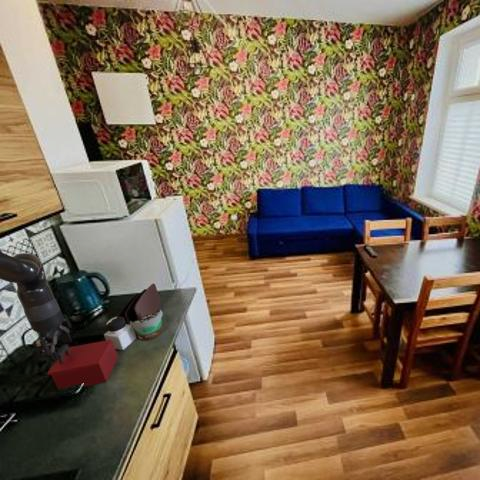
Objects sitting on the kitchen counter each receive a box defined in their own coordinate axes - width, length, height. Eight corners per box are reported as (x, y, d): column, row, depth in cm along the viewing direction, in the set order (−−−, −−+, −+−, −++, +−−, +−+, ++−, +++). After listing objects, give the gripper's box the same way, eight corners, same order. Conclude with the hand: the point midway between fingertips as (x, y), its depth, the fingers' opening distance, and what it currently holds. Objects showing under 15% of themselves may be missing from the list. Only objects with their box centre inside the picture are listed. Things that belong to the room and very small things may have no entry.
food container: (139, 347, 110) (133, 328, 106) (134, 339, 114) (128, 321, 110) (170, 332, 118) (166, 313, 115) (165, 325, 122) (160, 307, 118)
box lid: (47, 375, 88) (41, 364, 86) (66, 349, 98) (61, 339, 96) (99, 364, 92) (94, 354, 90) (112, 341, 102) (108, 331, 100)
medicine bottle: (137, 338, 115) (130, 315, 110) (123, 350, 108) (114, 327, 104) (123, 335, 116) (115, 313, 111) (108, 348, 109) (99, 324, 105)
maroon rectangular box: (59, 392, 91) (50, 374, 88) (76, 365, 101) (69, 349, 98) (106, 381, 95) (99, 364, 92) (118, 357, 105) (112, 341, 102)
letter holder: (161, 304, 137) (155, 280, 131) (143, 331, 119) (135, 305, 113) (140, 305, 135) (133, 282, 130) (119, 333, 117) (109, 307, 112)
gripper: (42, 302, 91) (59, 339, 97) (13, 330, 78) (34, 370, 85) (69, 298, 93) (84, 334, 99) (45, 325, 80) (63, 364, 87)
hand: (61, 351), depth 92 cm, fingers open, 8 cm apart
